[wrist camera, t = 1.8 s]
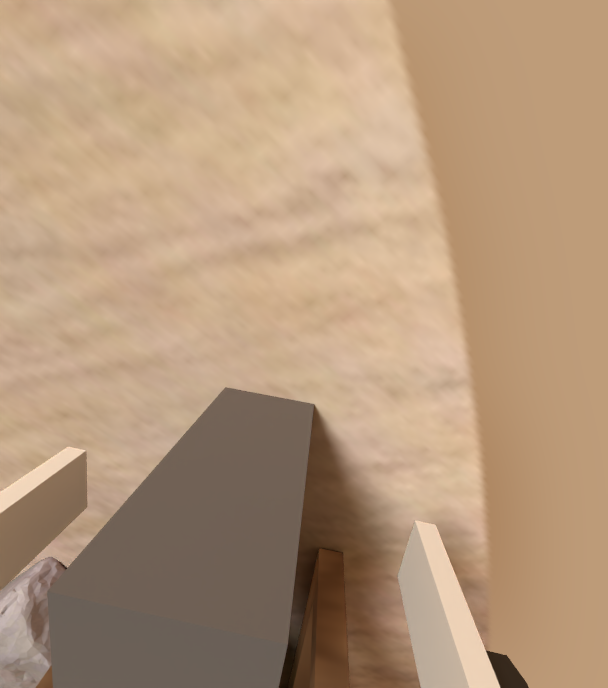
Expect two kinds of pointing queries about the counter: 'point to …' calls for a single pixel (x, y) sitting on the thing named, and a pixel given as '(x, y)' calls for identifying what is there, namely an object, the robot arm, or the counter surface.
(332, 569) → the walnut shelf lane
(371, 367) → the counter surface
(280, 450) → the tethered block
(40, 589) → the stone block
